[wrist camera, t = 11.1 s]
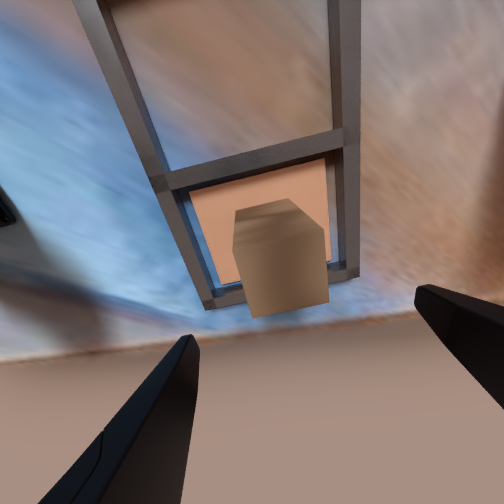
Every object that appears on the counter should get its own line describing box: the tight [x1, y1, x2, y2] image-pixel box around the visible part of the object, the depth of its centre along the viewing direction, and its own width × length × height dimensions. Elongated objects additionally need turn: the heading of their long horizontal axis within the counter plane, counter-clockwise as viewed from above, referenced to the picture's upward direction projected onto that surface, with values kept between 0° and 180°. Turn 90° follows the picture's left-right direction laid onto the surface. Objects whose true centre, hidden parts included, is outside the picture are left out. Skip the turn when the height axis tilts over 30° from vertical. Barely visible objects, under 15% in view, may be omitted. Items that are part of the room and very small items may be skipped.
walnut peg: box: [232, 198, 329, 319], centre depth 14 cm, size 4×4×8 cm
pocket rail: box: [72, 0, 361, 311], centre depth 15 cm, size 15×24×2 cm, turn 13°
